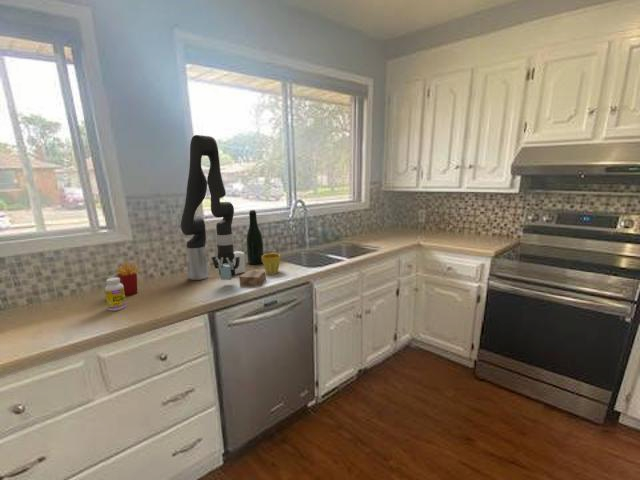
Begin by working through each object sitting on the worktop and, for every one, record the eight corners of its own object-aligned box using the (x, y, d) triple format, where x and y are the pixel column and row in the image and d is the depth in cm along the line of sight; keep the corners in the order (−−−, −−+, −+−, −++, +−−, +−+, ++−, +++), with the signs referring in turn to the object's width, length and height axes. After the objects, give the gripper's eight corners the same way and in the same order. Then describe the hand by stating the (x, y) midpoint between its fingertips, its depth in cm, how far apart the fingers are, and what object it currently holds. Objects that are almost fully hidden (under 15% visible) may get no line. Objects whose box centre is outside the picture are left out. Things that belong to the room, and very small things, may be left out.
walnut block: (240, 286, 160) (239, 276, 159) (247, 280, 170) (247, 270, 169) (259, 287, 158) (258, 277, 157) (265, 280, 168) (265, 271, 167)
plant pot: (279, 275, 175) (278, 257, 173) (260, 275, 176) (259, 258, 174) (282, 269, 186) (281, 253, 184) (264, 270, 186) (263, 253, 184)
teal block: (220, 279, 159) (219, 267, 158) (224, 276, 164) (223, 265, 162) (230, 279, 158) (229, 268, 157) (234, 276, 163) (233, 265, 162)
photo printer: (244, 270, 186) (242, 249, 183) (246, 272, 182) (245, 251, 180) (226, 273, 180) (224, 252, 178) (228, 275, 177) (226, 253, 174)
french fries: (124, 297, 149) (119, 266, 146) (118, 293, 154) (113, 263, 151) (144, 292, 155) (140, 261, 152) (138, 288, 161) (134, 259, 158)
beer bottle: (244, 264, 199) (240, 211, 193) (252, 260, 209) (249, 209, 202) (259, 265, 196) (256, 211, 189) (267, 260, 206) (264, 209, 199)
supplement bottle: (113, 312, 132) (108, 282, 130) (105, 309, 136) (100, 280, 133) (129, 306, 138) (125, 277, 135) (121, 303, 141) (117, 275, 139)
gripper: (207, 244, 154) (210, 278, 158) (236, 245, 153) (239, 279, 157) (214, 241, 162) (216, 273, 165) (241, 241, 160) (243, 274, 164)
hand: (227, 276), depth 161 cm, fingers closed on teal block, 5 cm apart
